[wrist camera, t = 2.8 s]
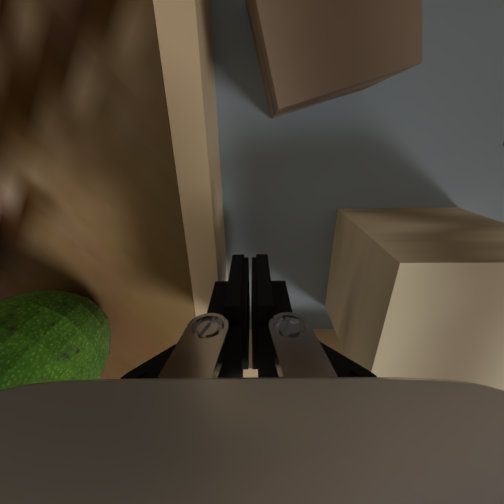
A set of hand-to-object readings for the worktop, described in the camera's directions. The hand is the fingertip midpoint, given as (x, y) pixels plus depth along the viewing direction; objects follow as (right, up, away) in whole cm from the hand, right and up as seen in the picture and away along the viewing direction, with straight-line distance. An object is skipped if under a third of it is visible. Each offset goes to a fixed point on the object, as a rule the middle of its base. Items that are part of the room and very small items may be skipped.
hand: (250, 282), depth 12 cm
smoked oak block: (+2, +9, -2) cm, 10 cm away
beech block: (+7, +1, +2) cm, 8 cm away
